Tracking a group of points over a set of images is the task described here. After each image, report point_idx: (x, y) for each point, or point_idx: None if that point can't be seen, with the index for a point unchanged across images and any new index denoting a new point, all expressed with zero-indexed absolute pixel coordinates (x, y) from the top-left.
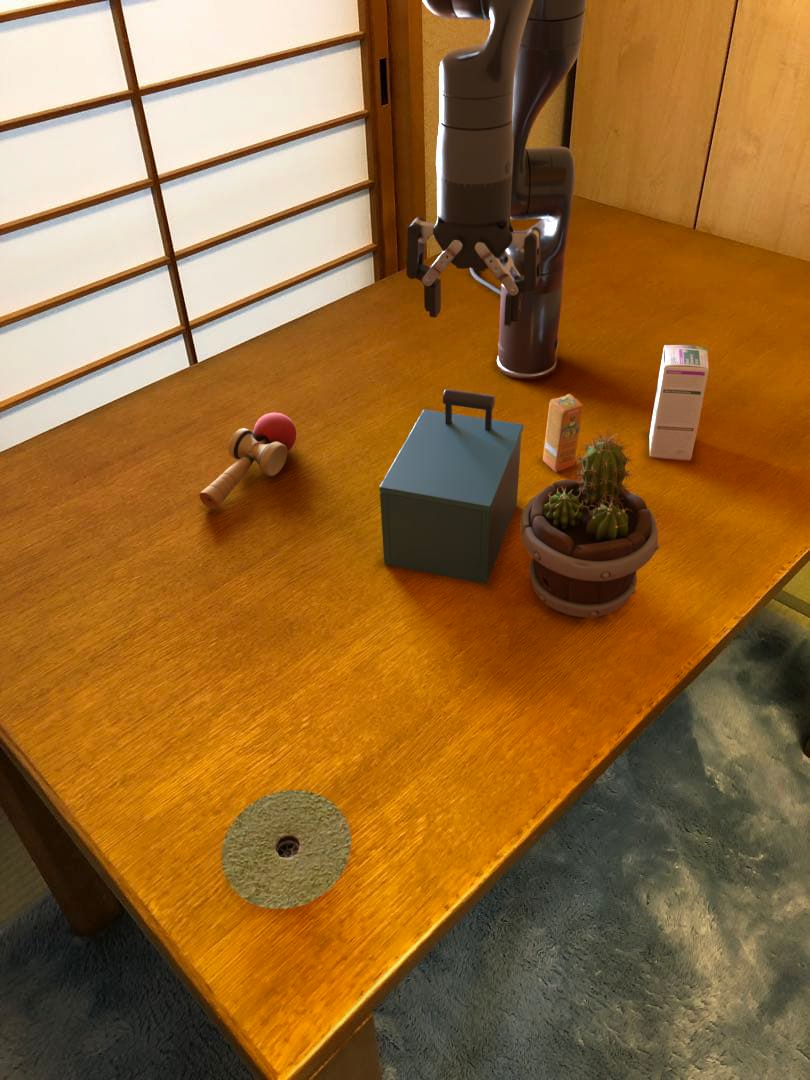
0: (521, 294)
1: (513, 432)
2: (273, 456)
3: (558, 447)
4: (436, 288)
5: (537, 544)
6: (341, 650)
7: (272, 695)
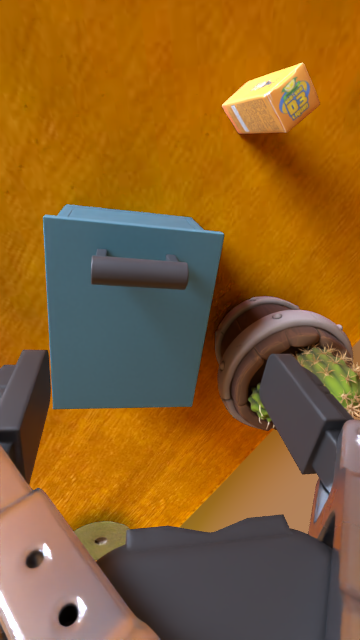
0: (350, 417)
1: (209, 260)
2: None
3: (254, 133)
4: (27, 466)
5: (238, 419)
6: (71, 429)
7: (39, 470)
